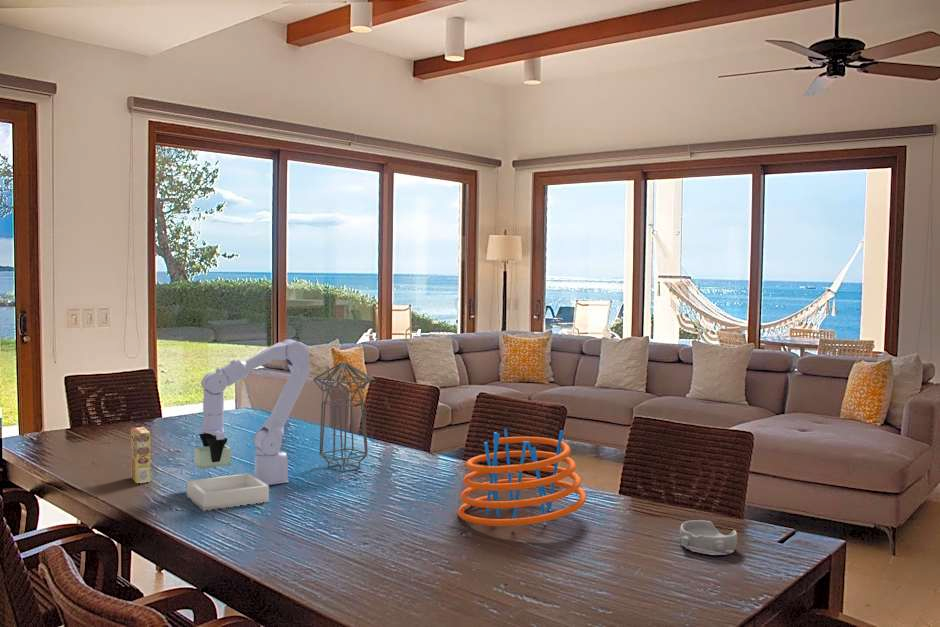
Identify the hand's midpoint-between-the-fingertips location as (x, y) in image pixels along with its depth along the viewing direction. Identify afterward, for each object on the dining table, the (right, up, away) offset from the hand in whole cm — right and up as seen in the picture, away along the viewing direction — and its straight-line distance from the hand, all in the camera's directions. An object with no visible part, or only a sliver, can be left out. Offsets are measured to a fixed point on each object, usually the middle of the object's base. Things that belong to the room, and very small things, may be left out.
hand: (212, 459), depth 240 cm
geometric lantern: (+33, -8, +29) cm, 45 cm away
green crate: (0, -2, 0) cm, 2 cm away
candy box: (-24, -8, +6) cm, 26 cm away
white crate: (+7, -9, -11) cm, 16 cm away
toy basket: (+89, -12, -20) cm, 92 cm away
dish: (+134, -15, -40) cm, 140 cm away
